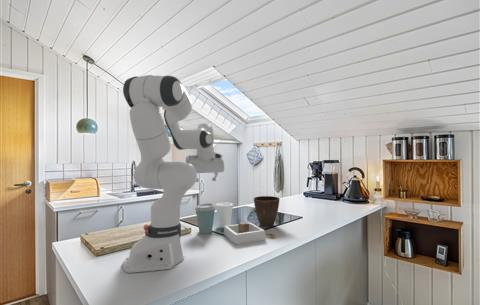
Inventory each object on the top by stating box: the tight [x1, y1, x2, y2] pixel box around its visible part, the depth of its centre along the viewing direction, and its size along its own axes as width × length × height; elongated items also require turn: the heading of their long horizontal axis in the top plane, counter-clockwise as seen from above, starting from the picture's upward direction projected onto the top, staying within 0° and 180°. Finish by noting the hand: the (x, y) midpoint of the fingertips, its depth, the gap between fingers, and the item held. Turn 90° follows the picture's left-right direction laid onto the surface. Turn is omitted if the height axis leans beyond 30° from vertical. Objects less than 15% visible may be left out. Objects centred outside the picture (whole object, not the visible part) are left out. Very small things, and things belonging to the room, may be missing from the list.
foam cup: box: [215, 202, 234, 229], centre depth 146 cm, size 10×9×13 cm
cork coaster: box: [265, 232, 279, 240], centre depth 129 cm, size 8×8×1 cm
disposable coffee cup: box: [194, 202, 216, 235], centre depth 136 cm, size 11×11×15 cm
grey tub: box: [223, 222, 266, 245], centre depth 127 cm, size 15×15×5 cm
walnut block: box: [237, 221, 250, 233], centre depth 127 cm, size 4×4×7 cm
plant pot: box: [253, 195, 281, 228], centre depth 149 cm, size 15×15×16 cm
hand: (205, 181), depth 136 cm, fingers open, 8 cm apart
